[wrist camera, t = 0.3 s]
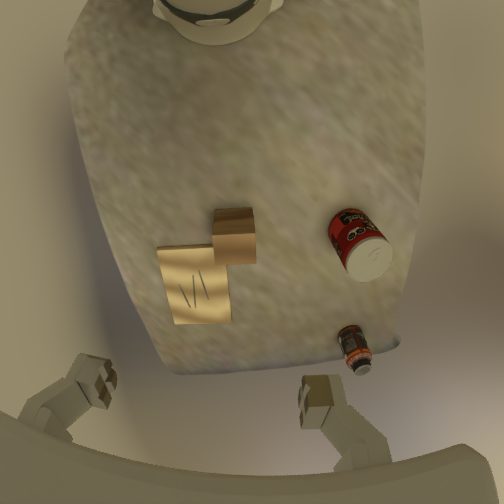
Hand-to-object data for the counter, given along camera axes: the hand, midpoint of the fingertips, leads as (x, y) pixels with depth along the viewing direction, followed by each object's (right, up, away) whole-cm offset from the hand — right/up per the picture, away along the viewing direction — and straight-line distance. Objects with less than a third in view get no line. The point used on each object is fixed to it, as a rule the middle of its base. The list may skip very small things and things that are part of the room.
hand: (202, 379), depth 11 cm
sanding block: (-1, +10, +39) cm, 40 cm away
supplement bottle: (+25, -14, +56) cm, 62 cm away
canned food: (+19, +10, +41) cm, 46 cm away
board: (-9, -1, +46) cm, 46 cm away
